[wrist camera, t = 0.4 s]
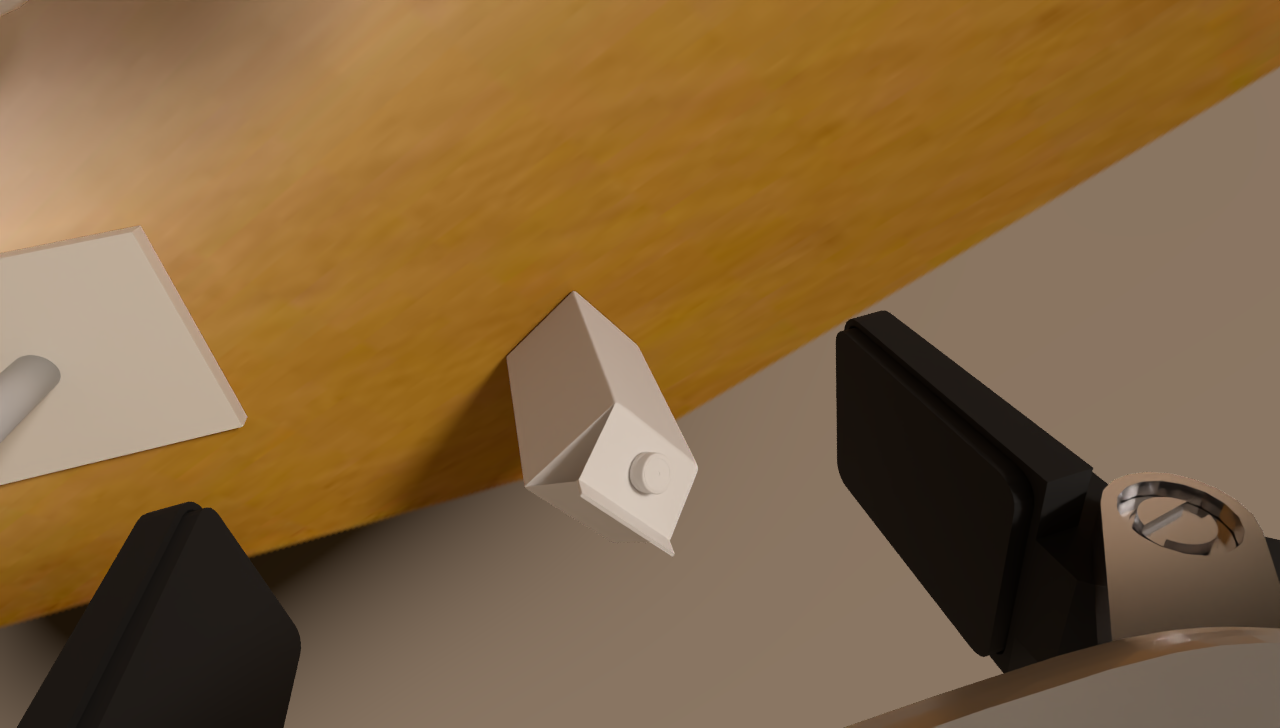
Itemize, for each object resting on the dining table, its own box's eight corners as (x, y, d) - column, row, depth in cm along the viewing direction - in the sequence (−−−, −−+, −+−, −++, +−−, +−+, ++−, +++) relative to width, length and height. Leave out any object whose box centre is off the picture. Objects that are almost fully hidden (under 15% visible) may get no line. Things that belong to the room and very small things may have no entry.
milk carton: (573, 406, 52) (626, 595, 36) (505, 355, 49) (530, 540, 33) (638, 345, 51) (723, 513, 35) (573, 288, 47) (634, 447, 31)
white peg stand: (-208, 294, 37) (-392, 383, 29) (140, 225, 39) (60, 289, 31) (-37, 484, 44) (-146, 597, 36) (247, 416, 46) (204, 508, 38)
